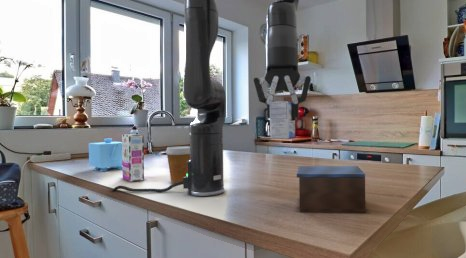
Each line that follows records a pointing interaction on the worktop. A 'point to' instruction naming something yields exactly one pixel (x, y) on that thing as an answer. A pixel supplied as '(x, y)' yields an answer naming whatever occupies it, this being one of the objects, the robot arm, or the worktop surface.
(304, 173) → the chest lid
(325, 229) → the worktop surface
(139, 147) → the candy bar box
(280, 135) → the medicine box
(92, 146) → the teapot
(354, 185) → the chest
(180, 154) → the disposable coffee cup
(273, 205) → the worktop surface
